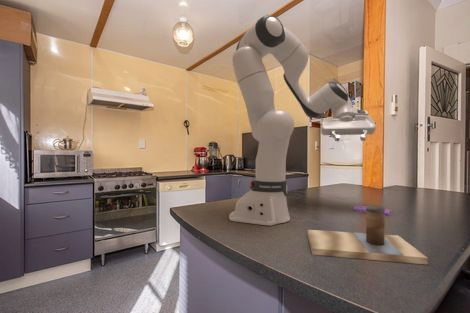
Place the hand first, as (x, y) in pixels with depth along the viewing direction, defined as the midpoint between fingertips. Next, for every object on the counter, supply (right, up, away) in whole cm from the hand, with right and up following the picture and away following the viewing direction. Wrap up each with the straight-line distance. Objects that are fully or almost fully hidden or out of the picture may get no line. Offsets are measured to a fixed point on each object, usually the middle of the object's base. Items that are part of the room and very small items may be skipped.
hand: (350, 139), depth 91 cm
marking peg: (-9, -28, -32) cm, 43 cm away
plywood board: (-13, -30, -31) cm, 45 cm away
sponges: (+11, -30, +5) cm, 32 cm away
